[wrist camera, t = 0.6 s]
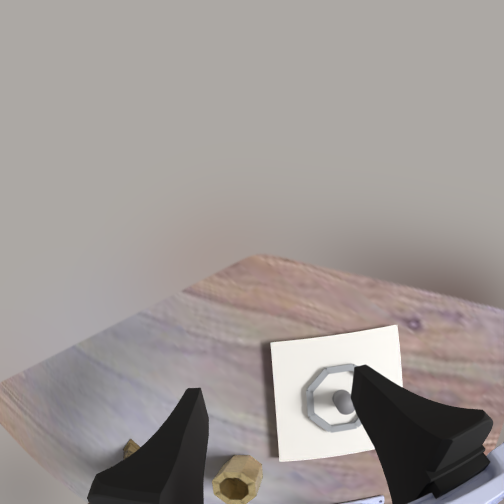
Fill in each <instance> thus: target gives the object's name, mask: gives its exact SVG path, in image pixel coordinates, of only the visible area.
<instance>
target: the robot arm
mask: <svg viewBox="0 0 504 504" xmlns="http://www.w3.org/2000/svg"><path fill="white" fill-rule="evenodd" d="M351 400H352V403H353V406H354V409H355V412H356V414H357V416H358V418H359V420H360V422H361V424H362V425H363V427H364V429H365V431H366V433H367V435H368V436H369V438H370V440H371V442H372V444H373V446H374V448H375V450H376V452H377V455H378V457H379V460H380V463H381V465H382V468H383V471H384V474H385V477H386V480H387V484H388V487H389V491H390V494H391V498H392V503H393V504H497V503H499V502H500V501H501V500H502V499H504V442H503V443H502V444H501V445H499V446H498V447H496V448H495V449H494V450H492V451H491V452H490V453H489V454H488V455H487V456H485V454H484V453H483V452H484V451H485V448H484V446H483V445H482V444H483V443H484V441H485V439H486V438H487V436H488V434H489V433H490V431H491V429H492V426H493V420H492V419H491V418H490V417H489V416H488V415H487V414H486V413H485V412H484V411H483V410H478V409H465V408H459V407H453V406H448V405H444V404H441V403H437V402H434V401H431V400H428V399H426V398H423V397H421V396H418V395H416V394H414V393H412V392H410V391H408V390H406V389H404V388H403V387H401V386H399V385H397V384H396V383H394V382H392V381H391V380H389V379H388V378H386V377H384V376H383V375H381V374H380V373H378V372H377V371H375V370H374V369H372V368H371V367H369V366H368V365H366V364H365V365H361V366H357V367H354V375H353V383H352V391H351ZM208 436H209V417H208V414H207V410H206V406H205V402H204V398H203V395H202V391H201V388H188V389H187V390H186V391H185V393H184V394H183V396H182V398H181V399H180V401H179V403H178V404H177V406H176V407H175V409H174V410H173V411H172V413H171V414H170V416H169V417H168V418H167V420H166V421H165V422H164V423H163V425H162V426H161V427H160V428H159V430H158V431H157V432H156V433H155V434H154V435H153V436H152V437H151V438H150V439H149V440H148V441H147V442H146V443H145V444H144V445H143V446H142V447H140V448H139V449H138V450H137V451H136V452H134V453H133V454H132V455H130V456H129V457H127V458H126V459H124V460H123V461H121V462H120V463H118V464H116V465H115V466H113V467H111V468H109V469H107V470H105V471H103V472H101V473H98V474H96V476H95V478H94V480H93V483H92V485H91V488H90V491H89V494H88V497H87V499H88V501H89V503H90V504H204V498H203V477H204V467H205V460H206V452H207V444H208ZM380 500H382V501H381V502H379V501H380ZM340 504H384V496H382V495H381V496H376V497H372V498H367V499H363V500H357V501H352V502H346V503H340Z"/></svg>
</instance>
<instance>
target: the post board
mask: <svg viewBox="0 0 504 504" xmlns="http://www.w3.org/2000/svg"><path fill="white" fill-rule="evenodd" d="M271 354H272V367H273V379H274V392H275V405H276V419H277V433H278V447H279V461H280V462H283V461H298V460H309V459H318V458H326V457H333V456H340V455H346V454H352V453H358V452H363V451H368V450H373V449H375V448H374V446H373V444H372V442H371V440H370V438H369V436H368V435H367V433H366V431H365V429H364V427H363V425H362V424H361V422H360V420H359V418H358V416H357V414H356V412H355V409H354V406H353V403H352V400H351V391H352V383H353V375H354V367H357V366H361V365H365V364H366V365H368V366H369V367H371V368H372V369H374V370H375V371H377V372H378V373H380V374H381V375H383V376H384V377H386V378H388V379H389V380H391V381H392V382H394V383H396V384H397V385H399V386H401V387H403V386H402V370H401V357H400V346H399V337H398V328H397V325H392V326H387V327H382V328H376V329H371V330H365V331H359V332H352V333H346V334H339V335H332V336H325V337H317V338H309V339H300V340H291V341H281V342H271Z"/></svg>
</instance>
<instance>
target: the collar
mask: <svg viewBox="0 0 504 504" xmlns="http://www.w3.org/2000/svg"><path fill="white" fill-rule="evenodd" d="M237 478H239V479H241V480H238V479H237ZM262 478H263V474H262V464H261V463H259V462H258V461H257V460H255V459H254V458H253V457H251V456H250V455H234V456H233V457H232V458H231V459H230V460H228V461H227V462H226V463H225V464H224V465H223V467H222V468H221V469H220V471H219V472H218V474H217V475H216V476H215V478H214V479H213V480H212V484H213V491H214V495H216V496H217V497H218V498H220V499H221V500H222V501H224V502H225V503H227V504H246V503H248V502H249V501H250V500H252V499H253V498H254V497H256V495H257V492H258V490H259V487H260V484H261V481H262Z"/></svg>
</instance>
